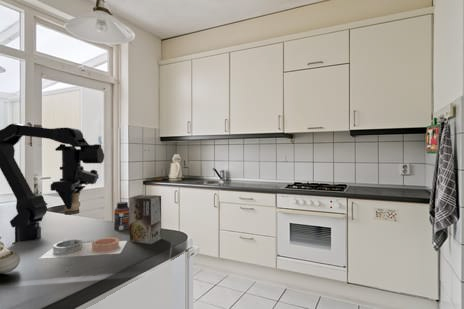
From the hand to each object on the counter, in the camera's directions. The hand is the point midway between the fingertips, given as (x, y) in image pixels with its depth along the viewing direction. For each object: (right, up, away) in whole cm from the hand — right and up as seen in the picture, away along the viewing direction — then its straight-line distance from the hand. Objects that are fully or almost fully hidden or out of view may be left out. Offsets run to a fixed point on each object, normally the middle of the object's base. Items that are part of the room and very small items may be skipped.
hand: (71, 207), depth 97 cm
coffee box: (+27, -12, -2) cm, 29 cm away
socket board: (+11, -12, -11) cm, 20 cm away
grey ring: (+6, -11, -12) cm, 17 cm away
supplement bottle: (+13, -12, +13) cm, 22 cm away
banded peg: (0, -2, 0) cm, 2 cm away
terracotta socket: (+17, -11, -10) cm, 22 cm away
